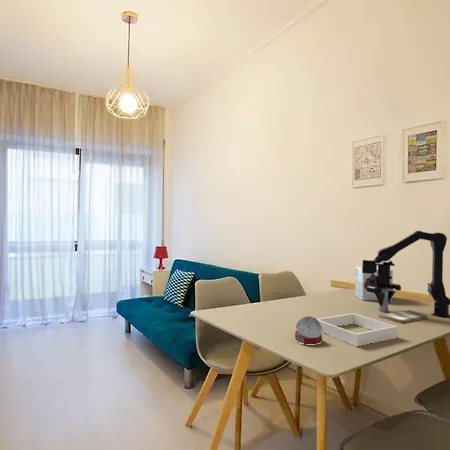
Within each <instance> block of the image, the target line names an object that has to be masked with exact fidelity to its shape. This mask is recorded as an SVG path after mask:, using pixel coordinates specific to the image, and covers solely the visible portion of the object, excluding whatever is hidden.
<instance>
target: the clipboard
mask: <svg viewBox="0 0 450 450" xmlns="http://www.w3.org/2000/svg"><path fill="white" fill-rule="evenodd" d="M378 317H379V318H381V319H386V320H388V321H392V322H394V323H400V324H405V323H411V322H415V321H417V322H418V321H420V320H426V319H428V316H427V315H423V314H422V313H421V312H419V311H415V310H411V309H407V310H403V309H402V310H398V311H394V312H393V311H391V312H385V313H382V314H378Z"/></svg>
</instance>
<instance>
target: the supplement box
mask: <svg viewBox="0 0 450 450" xmlns="http://www.w3.org/2000/svg"><path fill="white" fill-rule="evenodd" d="M354 270H355V273H354V274H355V275H354V276H355V279H354V280H355V281H354V282H355V283H354V285H355V286H354V296H355V297H357V298H358V299H360V301H378V299H377V297H376V295H375V294H374V293H372V292H367V287H368V286H369V285H367V284H366V279H367V278H371V279H375V277H376V276H378V266H377V272H374V274H368V273H362V265H360V266H355V269H354ZM393 275H394V272H393V269H391V268H390V276H391V277H392V279H390V283H393V282H394V281H393ZM392 301H393V297H392V298H391V300H390V302H392Z"/></svg>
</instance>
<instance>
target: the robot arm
mask: <svg viewBox="0 0 450 450" xmlns="http://www.w3.org/2000/svg"><path fill="white" fill-rule="evenodd" d="M419 240H424V241H429V242H430V247H431V250H432V270H431V271H432V272H431V273H432V274H431V275H432V277H431V281H430V282H428V283H427V290H426V291H427V292H428V295H429V296H430V297H431V298H432V299H433V301H434V303H433V305H434V307H433V312H432V313H431V315H433V316H436V317H440V318H443V319H444V318H449V317H450V309H449V308H450V298H449V297H448V296H447V295H446V289H445V286H444V285H445V284H444V281H443V271H444V270H443V269H444V268H443V266H444V251H445V248H446V245H447V240H448V237H447V235H446V234H445V233H443V232H434V233H430V232H425V231H422V230H415V231H414V232H413V233H411V234H409V235H408V236H406V237H404V238H403V239H401V240H400V241H399V240H398V242H396V243H394V244H392V245H390V246H386V247H384V248H381V249H379V250H378V251H377V256H376V257H375V258H374V259H373V260H367V259H362V265H361V266H362V273H368V274H374V272H377V267H378V276H376V277H375V279H371V278H367V279H366V284H367V285H369V286H368V287H367V292H372V293H374V294H375V295H376V297H377V299H378V306H379V305H380V306H382V304H383V301H384V297H385V293H383V291H388V305H389V304H390V302H391V301H390V300H391V298H392V299H393V298H394V297H393V296H394V295H395V294H396V293H397V291H402V287H401V284H399V283H398V284H397V283H393V282H392V283H390V279H392V277H391V276H390V269H391V267H394V266H396V265H395V264H394V263H393V261H392V260H391V259H392V258H394V257H395V256H396V254H398V253H399V252H400V251H402V250H403V249H405V248H408V246H410V245H412V244H414V243H415V242H418V241H419Z"/></svg>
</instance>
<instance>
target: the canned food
mask: <svg viewBox="0 0 450 450" xmlns="http://www.w3.org/2000/svg"><path fill="white" fill-rule="evenodd" d="M317 319H318V318H316V317H314V316H310V315H309V316H304V317H302V318H300V319H299V320H298V321H297V322H296V325H295V328H296V330H295V333H294V335H295V337H294V339H296V340H297V341H298V342H301V343H304V344H317V343H320V342H321V341H322V342H323V333H322V332H323V329H322V326H321V324H320V323H319V321H318V320H317Z"/></svg>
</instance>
